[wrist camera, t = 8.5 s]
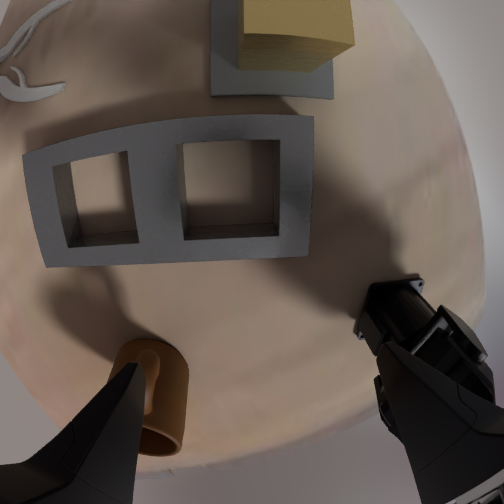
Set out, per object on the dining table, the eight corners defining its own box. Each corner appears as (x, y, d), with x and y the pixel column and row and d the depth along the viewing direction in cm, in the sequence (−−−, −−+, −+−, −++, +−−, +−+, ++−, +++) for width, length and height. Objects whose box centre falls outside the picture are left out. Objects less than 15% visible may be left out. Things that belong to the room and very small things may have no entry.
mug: (122, 289, 21) (79, 372, 12) (207, 312, 22) (201, 407, 14) (119, 373, 25) (98, 442, 17) (184, 390, 27) (177, 463, 18)
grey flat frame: (302, 117, 16) (313, 116, 14) (299, 241, 20) (308, 256, 18) (40, 150, 15) (22, 154, 13) (60, 253, 19) (46, 267, 17)
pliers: (56, 90, 12) (-41, 134, 11) (67, 92, 14) (-31, 132, 12) (77, -15, 8) (-29, 47, 7) (86, -9, 10) (-21, 48, 8)
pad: (325, 5, 12) (327, 2, 12) (330, 99, 16) (333, 98, 15) (211, -1, 12) (211, -5, 11) (211, 96, 15) (210, 95, 15)
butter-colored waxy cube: (306, 16, 12) (344, -30, 6) (309, 73, 14) (355, 45, 8) (237, 12, 12) (243, -43, 6) (238, 70, 14) (244, 33, 8)
